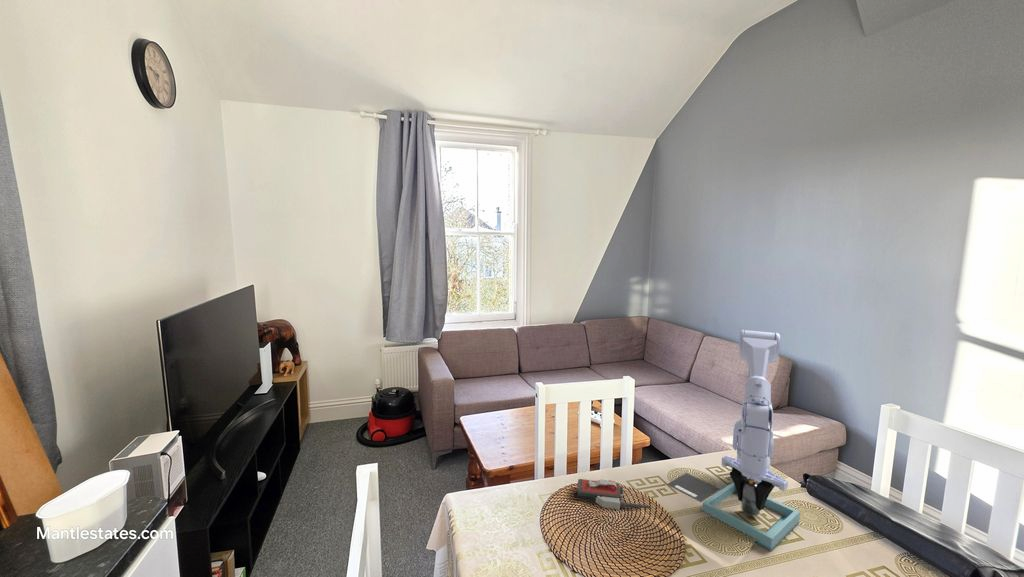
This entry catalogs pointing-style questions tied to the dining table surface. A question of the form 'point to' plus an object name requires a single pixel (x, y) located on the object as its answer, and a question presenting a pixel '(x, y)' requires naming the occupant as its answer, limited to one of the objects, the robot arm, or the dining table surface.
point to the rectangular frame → (763, 538)
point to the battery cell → (750, 497)
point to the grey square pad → (693, 487)
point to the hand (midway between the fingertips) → (750, 503)
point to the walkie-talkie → (603, 494)
